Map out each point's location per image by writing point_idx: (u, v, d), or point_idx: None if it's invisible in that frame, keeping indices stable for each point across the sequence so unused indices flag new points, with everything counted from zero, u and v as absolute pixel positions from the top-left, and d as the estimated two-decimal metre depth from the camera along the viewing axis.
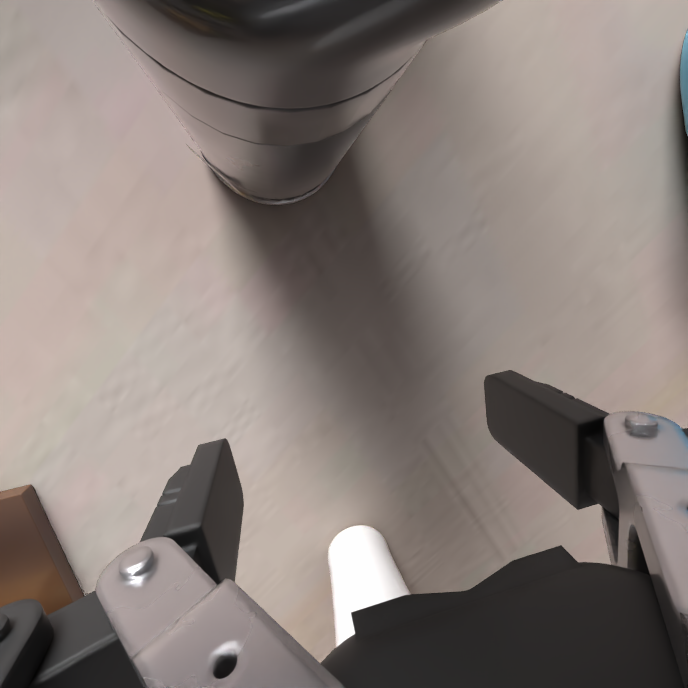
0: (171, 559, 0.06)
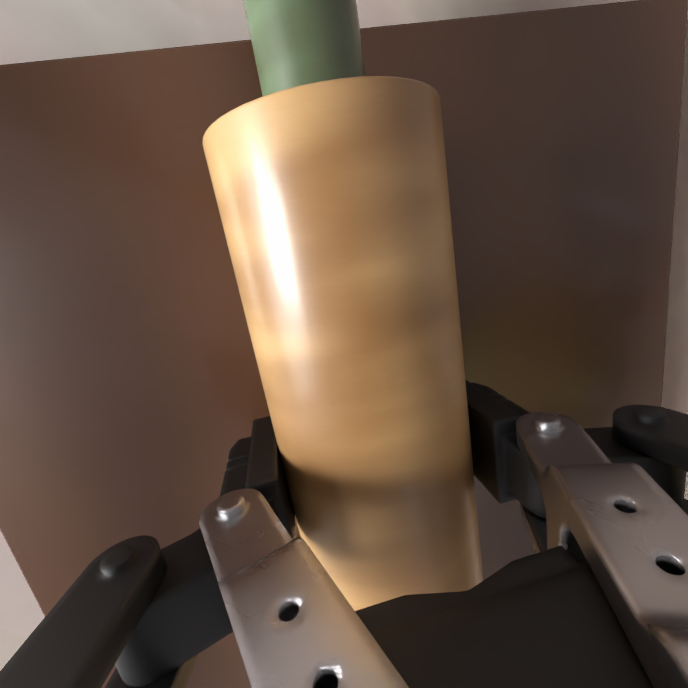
0: (261, 504, 0.07)
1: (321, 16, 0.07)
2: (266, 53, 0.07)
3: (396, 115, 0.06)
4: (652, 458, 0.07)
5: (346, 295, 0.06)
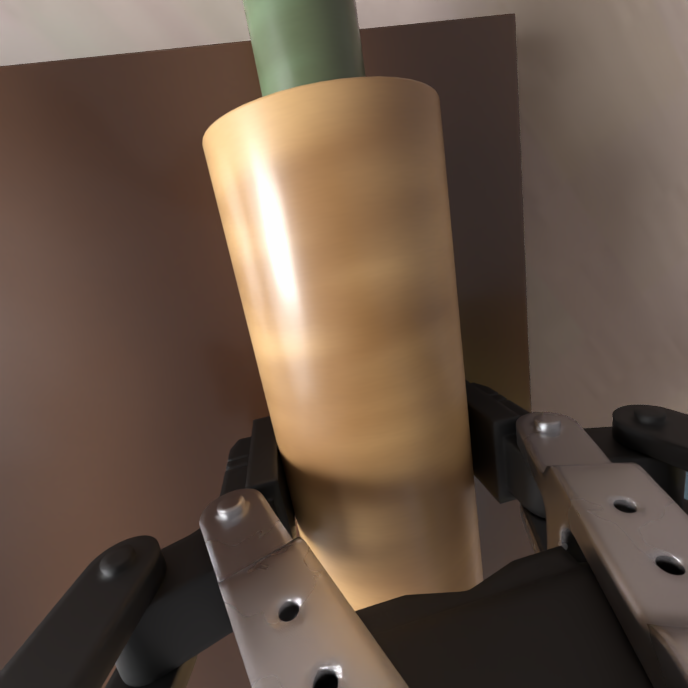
0: (261, 504, 0.07)
1: (320, 17, 0.07)
2: (266, 54, 0.07)
3: (395, 115, 0.06)
4: (652, 458, 0.07)
5: (346, 295, 0.06)
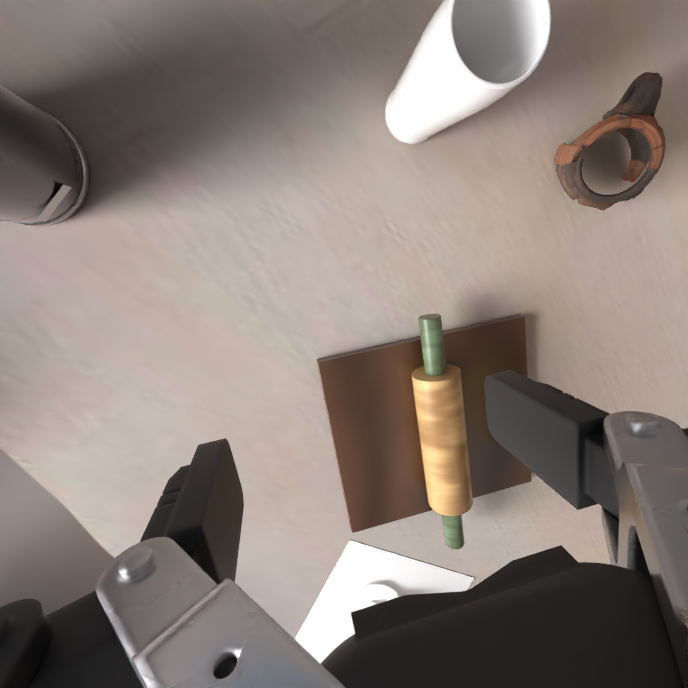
0: (171, 559, 0.06)
1: (440, 361, 0.37)
2: (428, 364, 0.37)
3: (454, 382, 0.36)
4: None
5: (444, 411, 0.37)
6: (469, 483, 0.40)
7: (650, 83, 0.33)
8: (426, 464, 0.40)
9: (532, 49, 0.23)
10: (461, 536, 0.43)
